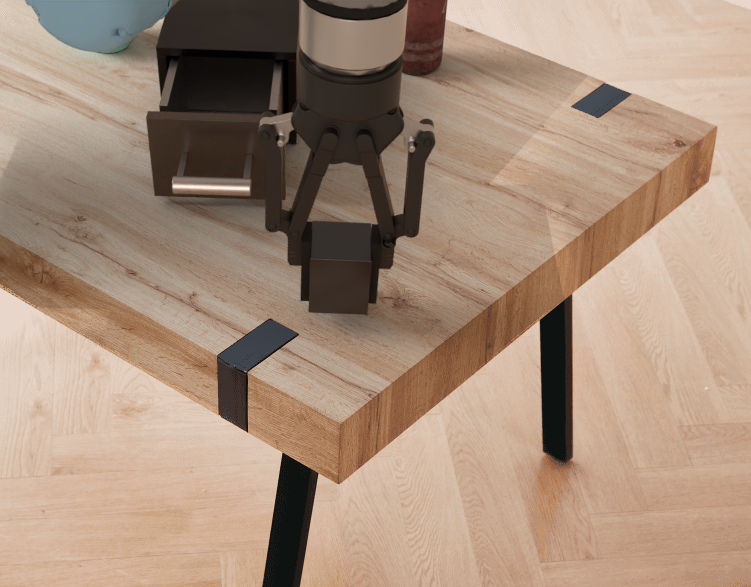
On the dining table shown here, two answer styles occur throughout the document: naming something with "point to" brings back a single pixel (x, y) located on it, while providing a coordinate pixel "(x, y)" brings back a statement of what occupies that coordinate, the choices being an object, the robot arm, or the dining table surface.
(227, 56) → the dark brown cabinet
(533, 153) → the dining table surface
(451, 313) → the dining table surface
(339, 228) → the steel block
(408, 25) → the can
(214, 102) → the drawer
